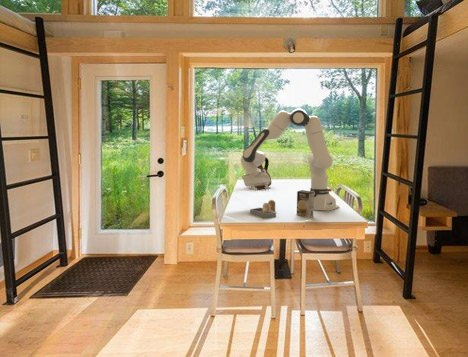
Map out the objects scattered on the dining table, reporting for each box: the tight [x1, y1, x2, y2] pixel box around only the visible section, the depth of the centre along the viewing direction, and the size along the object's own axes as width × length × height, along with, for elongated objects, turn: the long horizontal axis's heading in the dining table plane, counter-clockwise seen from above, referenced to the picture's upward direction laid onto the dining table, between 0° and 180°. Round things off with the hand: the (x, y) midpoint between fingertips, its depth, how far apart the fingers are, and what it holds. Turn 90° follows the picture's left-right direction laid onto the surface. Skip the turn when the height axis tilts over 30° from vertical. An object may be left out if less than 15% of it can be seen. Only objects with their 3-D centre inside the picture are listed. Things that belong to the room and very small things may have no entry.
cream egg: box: [262, 202, 270, 214], centre depth 226 cm, size 5×5×8 cm
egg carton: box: [249, 207, 277, 219], centre depth 230 cm, size 8×16×4 cm, turn 32°
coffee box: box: [296, 189, 314, 218], centre depth 228 cm, size 9×6×16 cm
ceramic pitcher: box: [254, 157, 272, 189], centre depth 335 cm, size 20×20×30 cm
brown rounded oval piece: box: [267, 199, 276, 212], centre depth 240 cm, size 5×5×8 cm
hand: (261, 189), depth 248 cm, fingers open, 8 cm apart
